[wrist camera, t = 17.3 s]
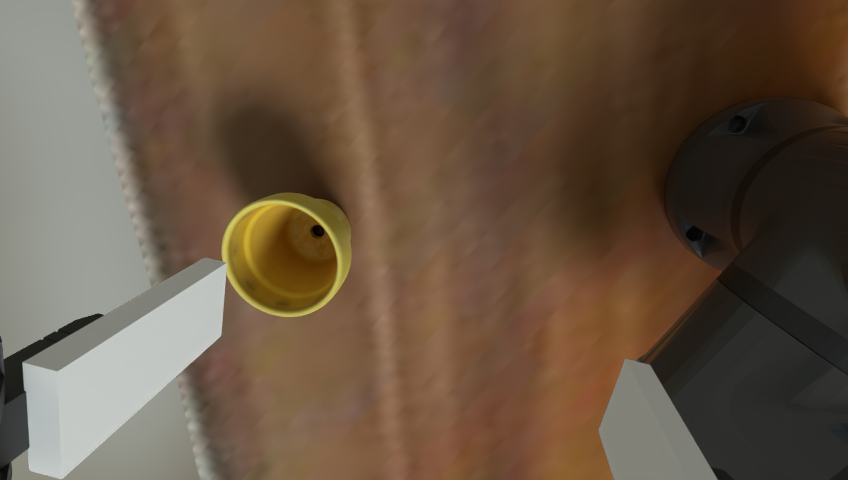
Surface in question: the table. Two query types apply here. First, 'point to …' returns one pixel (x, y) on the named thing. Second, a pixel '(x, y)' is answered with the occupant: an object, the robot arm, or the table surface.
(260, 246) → the plant pot
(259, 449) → the table surface
